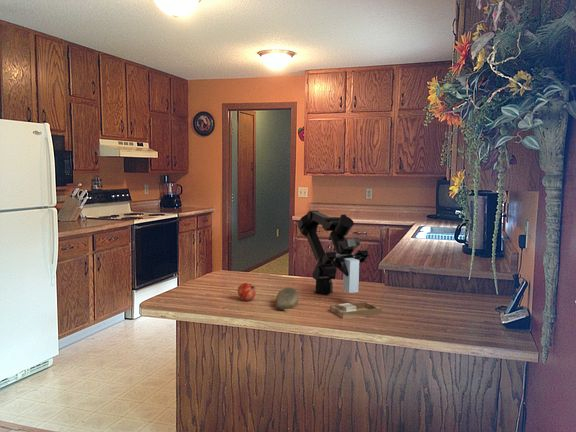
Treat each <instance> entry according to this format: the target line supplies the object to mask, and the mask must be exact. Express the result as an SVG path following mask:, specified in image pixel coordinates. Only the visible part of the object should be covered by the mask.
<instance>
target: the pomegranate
mask: <svg viewBox="0 0 576 432" xmlns="http://www.w3.org/2000/svg"><path fill="white" fill-rule="evenodd" d="M236 291H237V295H238V296H239V299H241V300H242V301H244V302H249V301H251V300H254V299H255V298H256V295H257V293H256V292H257V291H256V286H255V285H252V284H250V283H247V282H244V283H241V284H240V285H239V286H238V288H237V289H236Z"/></svg>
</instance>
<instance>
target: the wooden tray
mask: <svg viewBox="0 0 576 432" xmlns="http://www.w3.org/2000/svg"><path fill="white" fill-rule="evenodd" d="M349 304H352V305H354V306H356V311H349V312H343V311H342V310H340V309H338V306H339V304H335V305H334V304H333V305H329V312H331V313H333V314H334V315H336V316H338V317H339V318H341V319H342V320H344V319H352V318H353V319H354V318H362V317H369V316H378V315H382V312H383V311H382V308H381V307H379V306H377V305H375V304H373V303H370V302H368V301H361V302H351V303H349Z"/></svg>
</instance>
